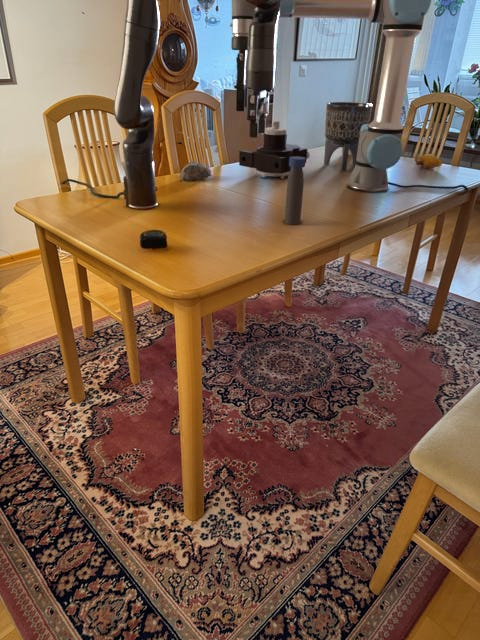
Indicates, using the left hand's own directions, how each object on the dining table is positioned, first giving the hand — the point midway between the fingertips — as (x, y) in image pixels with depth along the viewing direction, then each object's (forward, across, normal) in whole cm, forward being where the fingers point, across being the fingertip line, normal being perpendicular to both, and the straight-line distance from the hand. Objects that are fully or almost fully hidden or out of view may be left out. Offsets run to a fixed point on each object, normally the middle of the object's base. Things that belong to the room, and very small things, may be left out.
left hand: (257, 135), depth 126 cm
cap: (+6, -3, +11) cm, 13 cm away
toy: (+24, -106, +57) cm, 123 cm away
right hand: (-3, -32, -14) cm, 35 cm away
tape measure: (+25, +31, -18) cm, 44 cm away
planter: (+25, -91, +19) cm, 96 cm away
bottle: (+25, -3, +12) cm, 27 cm away
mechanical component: (+25, -68, -6) cm, 72 cm away
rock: (+25, -44, -35) cm, 62 cm away
